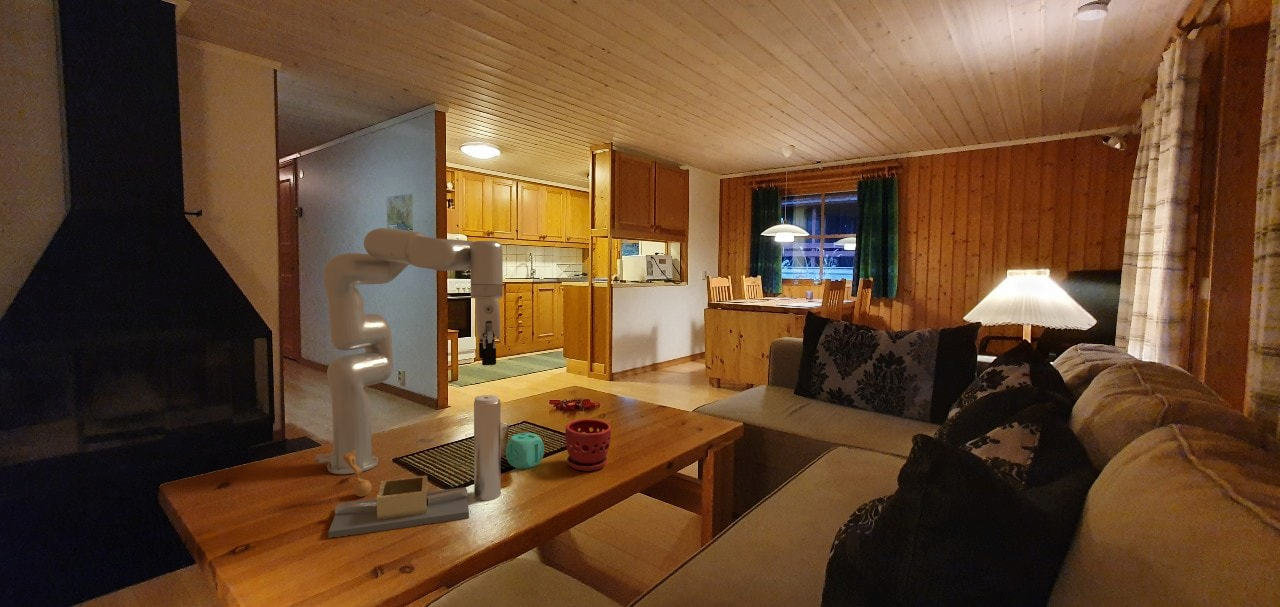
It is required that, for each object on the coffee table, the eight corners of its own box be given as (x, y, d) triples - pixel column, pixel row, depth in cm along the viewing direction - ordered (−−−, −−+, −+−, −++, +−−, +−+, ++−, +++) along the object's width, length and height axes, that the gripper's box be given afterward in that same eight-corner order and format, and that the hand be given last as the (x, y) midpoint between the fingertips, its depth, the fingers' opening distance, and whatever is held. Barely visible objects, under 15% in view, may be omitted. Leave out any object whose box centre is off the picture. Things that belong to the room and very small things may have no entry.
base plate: (328, 538, 111) (328, 531, 111) (340, 509, 124) (340, 503, 124) (468, 518, 121) (468, 511, 121) (466, 492, 134) (465, 487, 134)
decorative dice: (526, 471, 148) (526, 443, 148) (504, 465, 152) (504, 438, 152) (544, 462, 155) (544, 435, 155) (524, 457, 159) (524, 431, 159)
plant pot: (556, 470, 150) (556, 428, 149) (579, 454, 162) (579, 416, 161) (598, 477, 145) (598, 435, 144) (617, 461, 157) (618, 421, 156)
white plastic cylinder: (493, 502, 129) (493, 401, 127) (469, 499, 130) (468, 399, 128) (505, 491, 135) (505, 394, 133) (482, 488, 136) (481, 393, 135)
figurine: (374, 500, 129) (373, 452, 128) (346, 506, 125) (345, 456, 124) (369, 487, 136) (368, 442, 135) (342, 493, 132) (341, 446, 131)
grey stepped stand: (329, 527, 112) (329, 504, 112) (338, 506, 122) (337, 485, 121) (468, 507, 122) (468, 486, 122) (466, 490, 132) (466, 470, 131)
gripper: (506, 293, 122) (507, 367, 123) (498, 290, 138) (499, 354, 139) (472, 294, 119) (473, 368, 121) (468, 290, 136) (469, 356, 137)
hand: (487, 361), depth 130 cm, fingers open, 9 cm apart
